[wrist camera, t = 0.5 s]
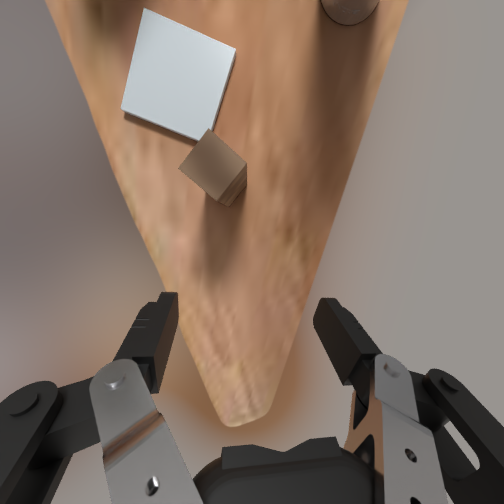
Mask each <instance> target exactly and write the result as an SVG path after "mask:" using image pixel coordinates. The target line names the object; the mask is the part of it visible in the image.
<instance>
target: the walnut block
mask: <svg viewBox="0 0 504 504" xmlns="http://www.w3.org/2000/svg"><path fill="white" fill-rule="evenodd" d="M178 169H179V170H181V171H182V172H183V173H184V174H185V175H186V176H188V177H189V178H190V179H191V180H192V181H194V182H195V183H196V184H197V185H198V186H199V187H201V188H202V189H203V190H204V191H205V192H206V193H208V194H209V195H210V196H211V197H212V198H213V199H215V200H216V201H217V202H219V203H221V204H224V205H226V206H228V207H229V206H230V205H231V204H232V202H233V201H234V200H235V199H236V197H237V196H238V195H239V194H240V193H241V191H242V190H243V189H244V188H245V186H246V185H247V163H246V162H245V161H244V160H243V159H242V158H241V157H240V156H239V155H238V154H236V153H235V152H234V151H233V150H232V149H231V148H230V147H229V146H228V145H227V144H225V143H224V142H223V141H222V140H221V139H220V138H219V137H218V136H217V135H216V134H214V133H213V132H212V131H211V130H210V129H209V128H208V129H207V131H206V132H205V133H204V135H203V136H202V137H201V139H200V140H199V141H198V143H197V144H196V145H195V147H194V148H193V149H192V151H191V152H190V153H189V155H188V156H187V157H186V159H185V160H184V161H183V163H182V164H181V165H180V167H179V168H178Z"/></svg>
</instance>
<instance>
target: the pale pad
mask: <svg viewBox="0 0 504 504" xmlns="http://www.w3.org/2000/svg"><path fill="white" fill-rule="evenodd" d="M235 57H236V49H234V48H232V47H230V46H228V45H226V44H223V43H221V42H219V41H217V40H215V39H212V38H210V37H208V36H206V35H203V34H201V33H199V32H197V31H195V30H192V29H190V28H188V27H186V26H184V25H181V24H179V23H177V22H175V21H172V20H170V19H168V18H166V17H164V16H161V15H159V14H157V13H155V12H153V11H150V10H148V9H146V8H144V10H143V14H142V18H141V23H140V27H139V31H138V36H137V40H136V44H135V49H134V53H133V57H132V62H131V66H130V70H129V75H128V79H127V83H126V88H125V92H124V96H123V101H122V105H121V110H123V111H124V112H125V113H128V114H130V115H133V116H135V117H138V118H140V119H143V120H145V121H148V122H150V123H153V124H155V125H158V126H160V127H163V128H165V129H168V130H170V131H173V132H175V133H178V134H180V135H182V136H185V137H187V138H190V139H192V140H195V141H197V142H198V141H199V140H200V139H201V137H202V136H203V135H204V133H205V132H206V131H207V129H208V128H209V129H210V130H211V131H213V128H214V125H215V121H216V118H217V115H218V112H219V108H220V105H221V102H222V99H223V96H224V92H225V89H226V86H227V83H228V79H229V76H230V73H231V70H232V66H233V63H234V60H235Z"/></svg>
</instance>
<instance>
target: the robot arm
mask: <svg viewBox="0 0 504 504" xmlns="http://www.w3.org/2000/svg"><path fill="white" fill-rule="evenodd" d="M321 2H322V5H323V7H324V9H325V11H326V13H327V14H328V15H329V16H330V17H331V18H332V19H333V20H334V21H336V22H337V23H340V24H343V25H353V24H357V23H359V22H361V21H363V20H364V19H366V18H367V17H368V16H369V15H370V14H371V13H372V12H373V10H374V9H375V7H376V5H377V4H378V2H379V0H321ZM178 318H179V311H178V293H177V292H161V294H160V296H159V298H158V301H157V302H148V303H147V304H146V305H145V306H144V307H143V308H142V309H141V310H140V312H139V313H138V315H137V317H136V320H135V321H134V323H133V324H132V327H131V328H130V330H129V332H128V334H127V336H126V338H125V339H124V341H123V343H122V345H121V347H120V349H119V350H118V352H117V354H116V356H115V358H114V359H113V361H112V362H111V363H109V364H107V365H105V366H104V367H103V368H101V369H100V370H99V371H98V372H97V373H96V375H95V376H93V377H91V378H89V379H86V380H83V381H80V382H76V383H73V384H70V385H66V386H63V387H60V388H57V386H56V385H55V384H54V383H53V382H50V381H40V382H35V383H32V384H29V385H27V386H25V387H23V388H21V389H19V390H17V391H15V392H14V393H12V394H11V395H9V396H8V397H7V398H6V399H5V400H3V401H2V402H1V403H0V504H50V503H51V501H52V499H53V497H54V495H55V492H56V490H57V488H58V486H59V484H60V481H61V479H62V477H63V475H64V473H65V470H66V468H67V466H68V464H69V462H70V459H71V457H72V455H73V453H76V452H78V451H80V450H83V449H85V448H87V447H90V446H92V445H94V444H97V443H99V442H101V444H102V449H103V464H104V469H105V474H106V478H107V483H108V488H109V492H110V496H111V501H112V504H448V501H447V496H446V492H445V490H446V491H447V493H448V495H449V496H450V498H451V500H452V501H453V503H454V504H504V427H503V426H502V425H501V424H500V423H499V422H498V421H497V420H496V419H495V418H494V417H493V416H492V415H491V413H489V411H488V410H487V409H486V408H485V407H484V406H483V405H482V404H481V403H480V402H479V401H478V400H477V399H476V398H475V397H474V396H473V395H472V394H471V393H470V392H469V391H468V389H467V388H466V387H465V386H464V385H463V384H462V383H461V382H459V381H458V380H457V379H456V378H454V377H453V376H452V375H450V374H448V373H446V372H444V371H442V370H439V369H430V370H429V371H428V373H427V374H426V375H423V374H419V373H416V372H412V371H409V370H407V368H405V366H404V365H403V364H401V362H399V361H398V360H397V359H395V358H393V357H391V356H389V355H385V354H383V353H382V352H381V351H380V350H379V348H378V347H377V346H376V344H375V343H374V342H373V341H372V339H371V338H370V336H368V334H367V332H366V331H365V330H364V329H363V327H362V326H361V325H360V323H358V321H357V320H356V318H355V317H354V315H353V314H352V313H351V312H349V311H348V310H347V309H346V308H344V307H342V306H341V305H340V303H339V302H338V301H337V299H335V298H321V299H320V301H319V304H318V306H317V309H316V312H315V314H314V317H313V325H314V328H315V330H316V332H317V334H318V336H319V338H320V340H321V342H322V344H323V346H324V348H325V350H326V352H327V354H328V356H329V358H330V360H331V362H332V364H333V367H334V369H335V371H336V372H337V374H338V377H339V379H340V381H341V383H342V385H343V386H344V385H353V387H354V389H355V390H354V392H353V394H352V404H351V414H350V423H349V432H348V436H347V440H346V442H345V445H344V448H341V447H339V444H338V442H337V439H336V437H327V438H316V439H309V440H307V441H305V442H303V443H301V444H299V445H297V446H296V447H294V448H292V449H290V450H288V451H286V452H280V451H276V450H272V449H268V448H264V447H260V446H256V445H241V446H230V447H223V448H222V453H221V457H220V458H218V459H215V460H214V461H212V462H211V463H209V464H208V465H206V466H205V467H204V468H203V469H202V470H201V471H200V472H199V473H198V474H197V475H196V476H195V477H194V478H193V479H192V478H191V475H190V473H189V471H188V469H187V467H186V464H185V462H184V460H183V458H182V456H181V453H180V452H179V450H178V447H177V445H176V443H175V440H174V438H173V436H172V434H171V432H170V429H169V427H168V425H167V423H166V421H165V419H164V417H163V415H162V414H161V413H159V412H158V410H157V408H156V406H155V403H154V401H153V399H152V397H151V394H154V393H159V390H160V386H161V383H162V379H163V375H164V371H165V368H166V365H167V361H168V357H169V354H170V350H171V346H172V343H173V340H174V335H175V332H176V329H177V325H178ZM449 421H451V422H452V423H453V425H454V426H455V427H456V429H457V430H458V431H459V432H460V434H461V435H462V436H463V438H464V439H465V440H466V441H467V443H468V444H469V445H470V446H471V448H472V449H473V450H474V452H475V453H476V455H477V457H478V459H479V462H480V468H479V469H478V470H476V469H475V468H474V466H473V465H472V464H471V462H470V461H469V459H468V458H467V457H466V455H465V454H464V453H463V452H462V450H461V449H460V448H459V446H458V445H457V443H456V442H455V441H454V439H453V438H452V437H451V435H450V434H449V433H448V431H447V430H446V429H445V427H444V425H445V424H446V423H448V422H449Z"/></svg>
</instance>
